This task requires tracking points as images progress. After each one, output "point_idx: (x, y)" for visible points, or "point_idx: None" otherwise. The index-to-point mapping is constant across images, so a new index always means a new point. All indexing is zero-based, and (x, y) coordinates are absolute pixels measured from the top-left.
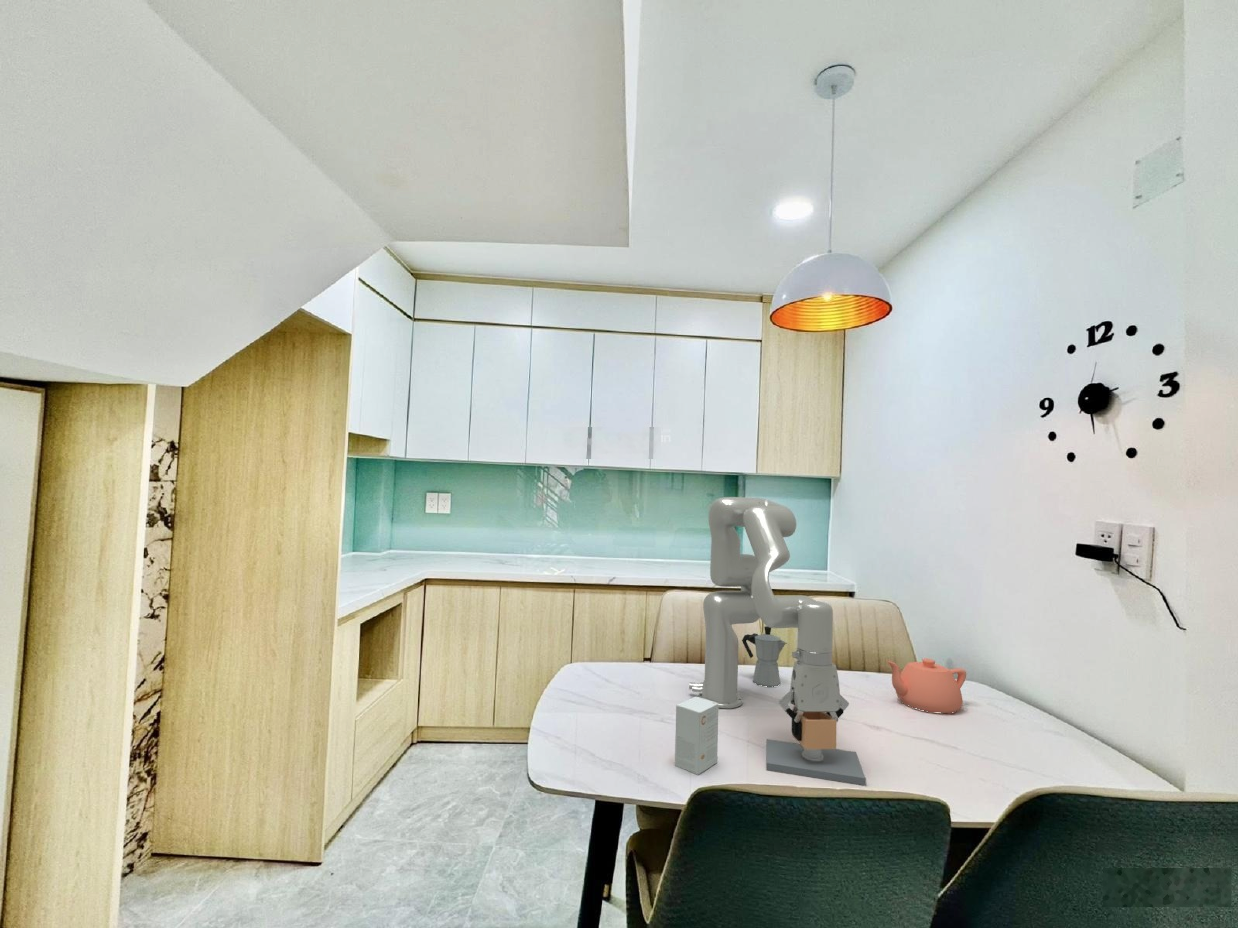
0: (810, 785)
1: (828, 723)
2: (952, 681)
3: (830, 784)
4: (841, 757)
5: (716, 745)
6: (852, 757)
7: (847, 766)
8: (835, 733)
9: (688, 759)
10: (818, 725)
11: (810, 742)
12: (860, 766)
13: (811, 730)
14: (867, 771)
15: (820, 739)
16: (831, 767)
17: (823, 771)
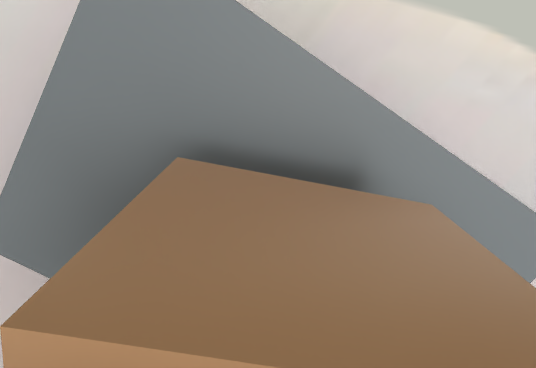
0: (453, 29)
1: (221, 313)
2: None
3: (333, 11)
4: (108, 207)
5: None
6: (39, 193)
7: (139, 101)
8: (137, 209)
9: None
10: (404, 322)
11: (417, 221)
12: (53, 80)
13: (476, 288)
14: (19, 95)
15: (326, 214)
16: (250, 113)
17: (337, 78)
